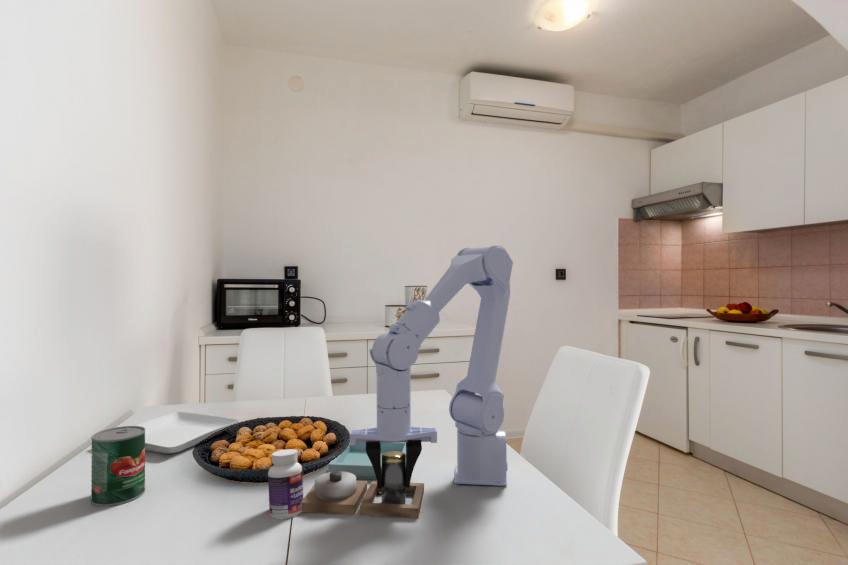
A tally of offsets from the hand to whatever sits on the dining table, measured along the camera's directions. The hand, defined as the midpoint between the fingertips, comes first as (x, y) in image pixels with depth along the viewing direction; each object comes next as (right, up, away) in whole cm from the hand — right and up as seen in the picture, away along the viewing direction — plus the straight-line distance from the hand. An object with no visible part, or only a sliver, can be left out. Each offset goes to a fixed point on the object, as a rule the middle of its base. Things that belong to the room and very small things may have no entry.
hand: (393, 485), depth 79 cm
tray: (-5, -3, +17) cm, 18 cm away
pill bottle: (-17, -4, -3) cm, 18 cm away
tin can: (0, -3, 0) cm, 3 cm away
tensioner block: (-5, -3, 0) cm, 6 cm away
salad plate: (-54, -4, +32) cm, 63 cm away
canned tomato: (-48, -3, +3) cm, 48 cm away
